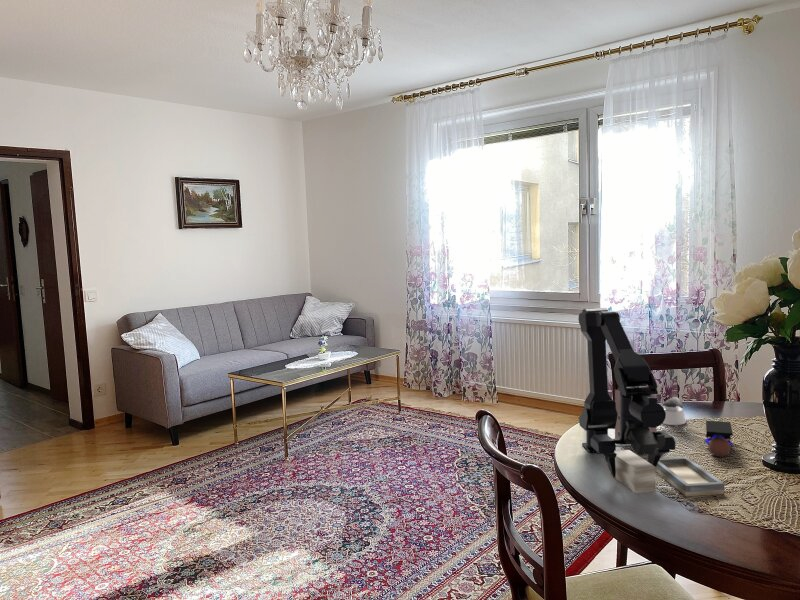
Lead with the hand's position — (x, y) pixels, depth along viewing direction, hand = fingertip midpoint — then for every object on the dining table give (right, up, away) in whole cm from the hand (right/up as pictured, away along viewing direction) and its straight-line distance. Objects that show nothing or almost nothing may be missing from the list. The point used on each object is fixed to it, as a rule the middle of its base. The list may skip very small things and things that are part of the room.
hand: (632, 475), depth 142 cm
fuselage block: (0, -2, 0) cm, 2 cm away
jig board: (+13, -1, 0) cm, 13 cm away
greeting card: (+11, +2, +26) cm, 28 cm away
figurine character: (+31, +2, +19) cm, 36 cm away
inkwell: (+28, +4, +38) cm, 48 cm away
